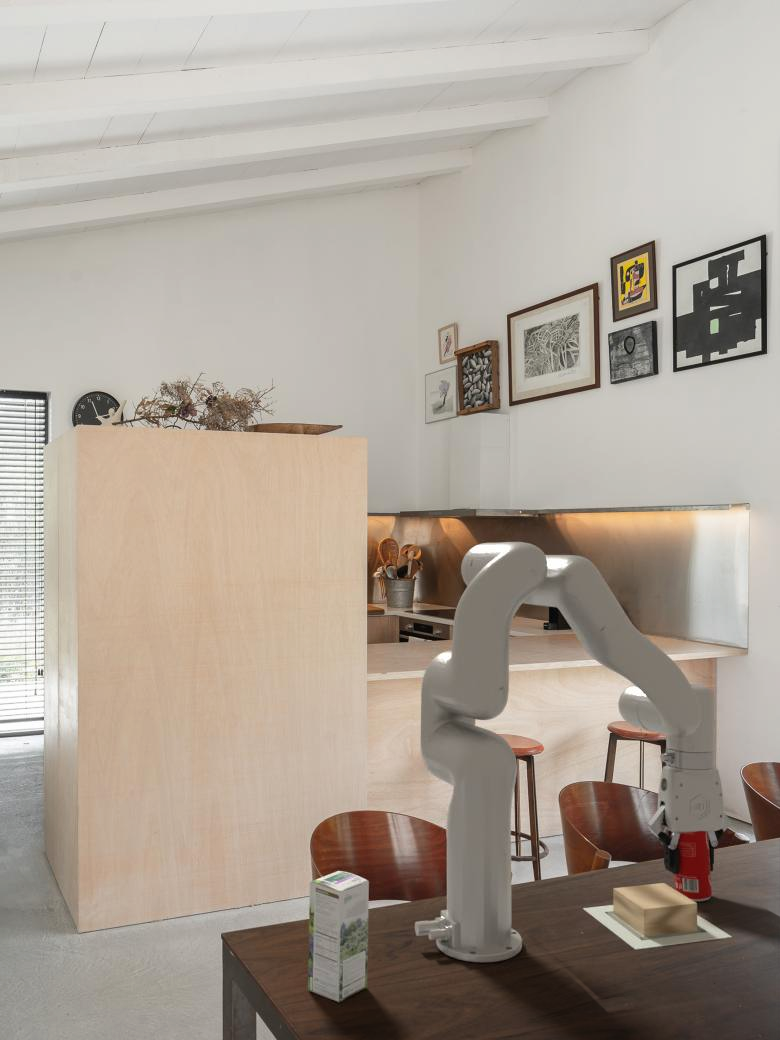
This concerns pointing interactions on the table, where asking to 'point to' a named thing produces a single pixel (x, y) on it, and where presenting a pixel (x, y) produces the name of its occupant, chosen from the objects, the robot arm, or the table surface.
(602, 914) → the board
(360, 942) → the syrup box
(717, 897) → the table surface
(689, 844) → the beverage can
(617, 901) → the oak block
